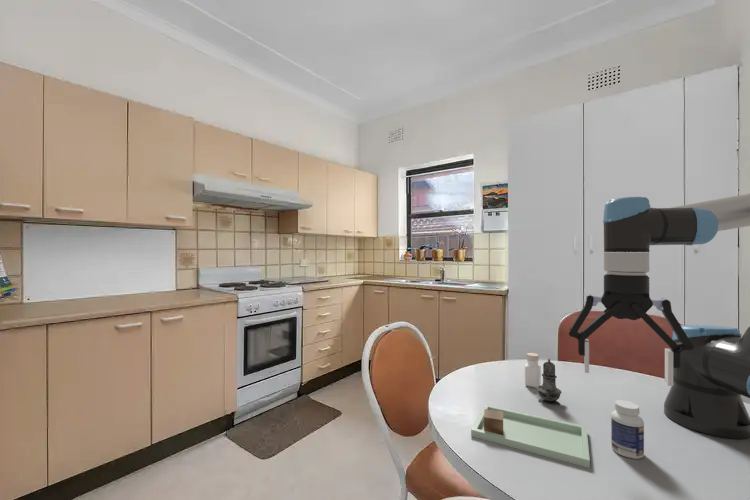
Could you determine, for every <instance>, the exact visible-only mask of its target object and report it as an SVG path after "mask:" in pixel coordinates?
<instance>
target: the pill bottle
mask: <svg viewBox="0 0 750 500" xmlns="http://www.w3.org/2000/svg"><path fill="white" fill-rule="evenodd" d="M614 408H615V410H613V411H612V412H611V414H610V416H611V417H610V418H611V419H610V420H611V421H610V423H611V424H610V425H611V426H610V427H611V428H610V429H611V433H610V434H611V437H610V438H611V440H610V441H611V442H610V443H611V448H612V450H613V451H614V452H616V454H619V455H621V456H623V457H626V458H629V459H635V460H639V459H642V458H644V456H645V454H644V453H645V422H644V420H643V418H642V417H641V416H640V406H639V405H638V404H636V403H634V402H632V401H630V400H629V401H628V400H622V399H618V400H615V402H614Z"/></svg>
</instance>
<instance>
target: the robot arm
mask: <svg viewBox="0 0 750 500" xmlns="http://www.w3.org/2000/svg"><path fill="white" fill-rule="evenodd" d="M602 223H603V271H604V272H606V273H605V274H604V275H603V294H602V296H596V295H592V294H590V293H588V294H587V295H586V298H585V304H584V306H583V307H582V308H581V310H580V312H579V314H578V315H577V317H576V319H575V320H574V322H573V323H572V325H571V327H570V328H569V330H568V335H569V337H572V338H575V339H576V340H577V342H578V343H577V344H578V346H577V348H578V349H577V351H578V355H579V356H583V358H584V359H583V360H584V364H583V368H584V373H585V374H590V340H589V339H588V338H589V337H590V336H591V335H592V334H594V332H596V331H597V330H598V329H599V328H600V327H601V326H602V325H604V324H605V323H606V322H607V321H608V320H610V319H611V318H612V317H613V318H616V319H618V320H624V319H626V320H630V321H637V320H639V319H641V320H643V321H644V322H645V324H646V325H648V326H649V328H651V329H652V330H653V331H654V333H656V334H657V335H658V336H659V338H660V339H662V340H663V341H664V343H666V345H667V346H668V347H669V348H667V347H665V348H664V381H665V383H666V385H667V386H670V389H669V392H668V393H667V396H666V398H665V399H664V403H663V413H664V414H665V416H666V417H667V418H668V419H669V420H671V421H673V422H675V423H677V424H679V425H681V426H682V427H685V428H687V429H690V430H692V431H696V432H699V433H702V434H705V435H711V436H715V437H719V438H720V437H721V438H726V439H734V440H735V439H736V440H737V439H738V440H739V439H741V440H743V439H748V438H749V439H750V415H749V412H748V411H747V408H746V405H745V404H744V400H743V398H742V396H743V397H745V398H749V399H750V325H748V327H747V329H746V330H745V332H744V333H743V335H742V333H741V331H740V329H738V328H737V327H731V326H723V325H722V326H720V325H699V324H681V323H680V322H679V320H678V319H677V318H676V316H675V314H674V313H673V311H672V305H671V304H672V303H671V301H670V300H668V299H666V298H664V297H663V298H660V299H651V297H650V276H649V275H647V274H646V273H650V246H693V245H704V244H707V243H709V242H711V241H712V240H713V239H714V238H715V237H716V235H717V233H718V232H722V231H727V230H733V229H738V228H744V227H746V228H747V227H750V193H744V194H741V195H733V196H727V197H724V198H723V197H722V198H718V199H712V200H707V201H700V202H695V203H690V204H683V205H678V206H673V207H672V206H671V207H663V208H662V207H661V208H657V207H651V204H650V200H649V198H648V197H644V196H626V197H624V196H623V197H618V198H613V199H609V200H608V201H606V202H605V205H604V209H603V220H602ZM599 303H601V304H602V305H603V306H604V308H605V310H603V311H602V312H600V314H599V315H597V317H596V318H595V319H594V320H592V322H590V323H589V324H588V325H587V326H586V327H585V328H584V329H582V331H579V330H580V329H581V327H582V325H583V323H584V322H585V320H586V319H587V317H588V316H589V313H590V312H591V311H592V308H593V307H595V306H597V305H598V304H599ZM653 306H654V307H655V308H656V309H657V310H658V311H661V312H662V313H661V314H662V315H663V317H664V318H665V320H666V321H667V323H668V325H669V326H670V328H671V329H672V337H671V336H670V335H669V334H668V333H667V332H666V331H665V330H664V329H663V328H661V327H660V325H659V324H657V323H656V321H655V320H653V318H652V317H651V316H650V314H648V313H647V312H648V311H649V310H650V309H651V308H652V307H653Z"/></svg>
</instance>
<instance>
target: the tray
mask: <svg viewBox="0 0 750 500" xmlns="http://www.w3.org/2000/svg"><path fill="white" fill-rule="evenodd" d="M484 409H487V410H494V411H500V412H503V435H499V434H495V433H492V432H488V431H484ZM470 434H471V435H470V437H473V438H477V439H480V440H484V441H488V442H491V443H495V444H498V445H503V446H506V447H509V448H514V449H518V450H520V451H524V452H529V453H532V454H536V455H539V456H543V457H547V458H550V459H554V460H558V461H562V462H565V463H568V464H569V463H570V464H572V465H576V466H580V467H584V468H586V469H590V467H591V463H590V462H591V461H590V459H591V457H590V449H589V439H588V430H587V426H585V425H581V424H578V423H577V424H576V423H572V422H568V421H567V422H566V421H562V420H558V419H554V418H548V417H544V416H539V415H535V414H530V413H526V412H522V411H517V410H513V409H508V408H504V407H500V406H499V407H498V406H494V405H489V404H484V406H483V407H482V409H481V411H480V412H479V414H478V416H477V418H476V420H475V422H474V423H473V426H472V427H471V430H470Z"/></svg>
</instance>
